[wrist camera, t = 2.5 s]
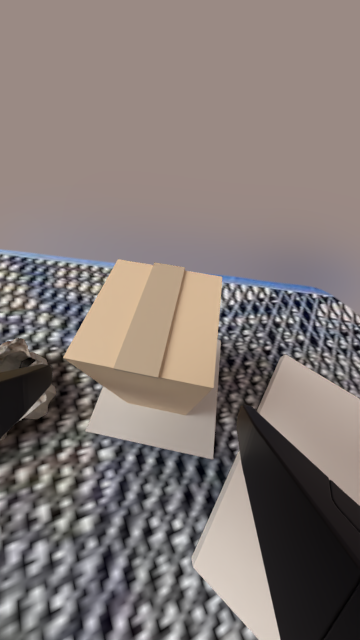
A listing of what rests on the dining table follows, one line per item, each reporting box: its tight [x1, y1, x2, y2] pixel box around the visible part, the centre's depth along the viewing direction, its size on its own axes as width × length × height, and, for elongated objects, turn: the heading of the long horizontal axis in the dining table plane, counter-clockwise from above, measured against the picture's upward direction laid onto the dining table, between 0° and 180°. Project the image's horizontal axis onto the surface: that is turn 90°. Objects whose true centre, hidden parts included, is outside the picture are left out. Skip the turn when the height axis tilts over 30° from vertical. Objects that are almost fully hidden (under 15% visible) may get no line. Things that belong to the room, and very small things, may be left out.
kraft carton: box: [63, 260, 222, 415], centre depth 13 cm, size 6×6×12 cm
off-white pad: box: [192, 355, 360, 640], centre depth 14 cm, size 18×14×1 cm
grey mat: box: [86, 340, 221, 459], centre depth 18 cm, size 11×11×1 cm
